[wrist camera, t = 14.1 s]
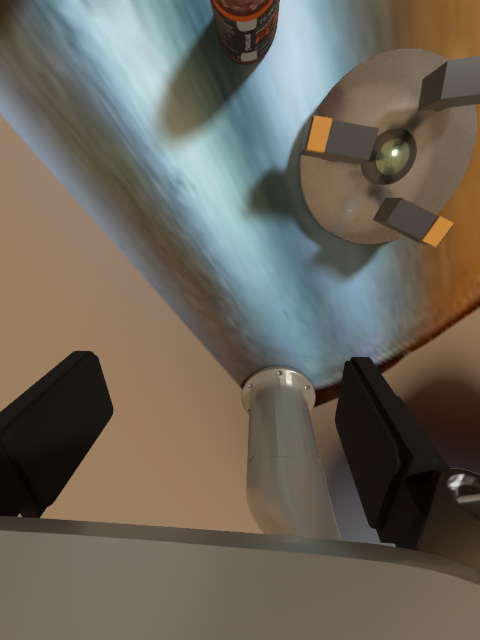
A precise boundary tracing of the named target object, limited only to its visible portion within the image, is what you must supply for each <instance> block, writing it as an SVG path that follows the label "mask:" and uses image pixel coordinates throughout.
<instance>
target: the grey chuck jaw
mask: <svg viewBox="0 0 480 640" xmlns="http://www.w3.org/2000/svg"><path fill="white" fill-rule="evenodd" d="M372 220H374V221H376V222H378V223H380V224H382V225H384V226H386V227H388V228H390V229H392V230H394V231H396V232H398V233H400V234H402V235H405V236H407V237H409V238H411V239H413V240H415V241H417V242H420V243H423V244H427V245H430V246H433V247H437V246H438V245H439V244H440V242H441V241H442V240H443V238H444V237H445V236H446V234H447V233H448V232H449V230H450V229H451V228H452V226H453V225H454V223H453V222H451V221H449V220H447V219H445V218H443V217H441V216H437V215H435V214H433V213H431V212H429V211H427V210H425V209H423V208H421V207H419V206H417V205H415V204H413V203H411V202H409V201H407V200H405V199H403V198H385V200H384V201H383V203H382V205H381V206H380V208H379V210H378V211H377V213H376V215H375V216H374V218H373V219H372Z"/></svg>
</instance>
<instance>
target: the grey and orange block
mask: <svg viewBox="0 0 480 640" xmlns="http://www.w3.org/2000/svg"><path fill="white" fill-rule="evenodd" d="M475 104H480V56H478V57H471V58H464V59H457V60H450V61H447V62H445V63H444V64H443V65H441V66H440V67H439V68H437V69H436V70H434V71H433V72H432V73H430V74H429V75H428V76H426V77H425V78H424V79H423V80H422V87H421V93H420V99H419V106H418V112H420V111H428V110H434V111H442V110H444V109H446V108H451V107H459V106H467V105H475Z"/></svg>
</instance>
